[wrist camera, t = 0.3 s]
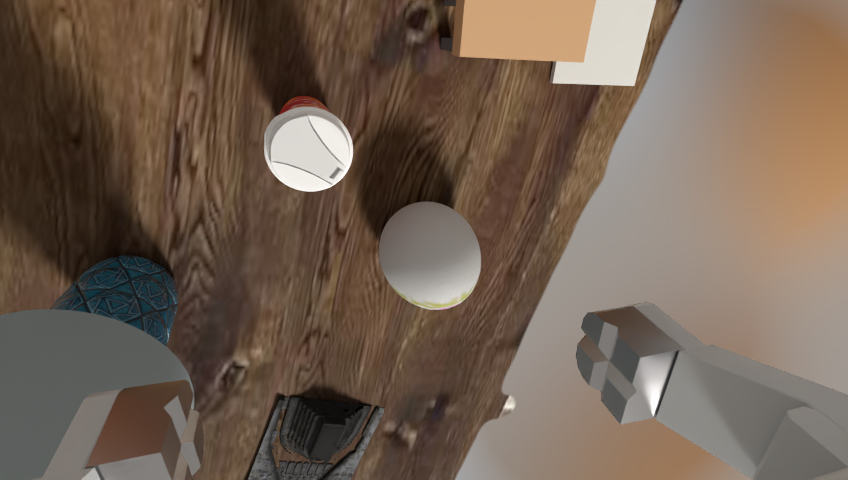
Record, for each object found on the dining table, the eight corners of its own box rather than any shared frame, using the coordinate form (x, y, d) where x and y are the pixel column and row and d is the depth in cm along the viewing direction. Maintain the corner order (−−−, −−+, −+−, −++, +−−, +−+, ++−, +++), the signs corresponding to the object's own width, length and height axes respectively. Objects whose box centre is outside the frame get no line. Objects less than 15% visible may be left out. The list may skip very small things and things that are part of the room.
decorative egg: (383, 282, 63) (407, 351, 50) (362, 204, 57) (384, 260, 44) (465, 258, 65) (508, 319, 52) (453, 180, 59) (499, 227, 46)
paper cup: (353, 116, 52) (372, 148, 40) (312, 166, 54) (318, 212, 41) (296, 69, 48) (298, 88, 36) (254, 124, 50) (242, 160, 38)
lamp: (171, 370, 61) (34, 784, 28) (5, 309, 52) (-479, 816, 19) (251, 265, 57) (201, 602, 25) (88, 180, 48) (-337, 536, 15)
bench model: (436, 50, 51) (459, 56, 44) (440, -10, 49) (465, -13, 42) (546, 56, 55) (583, 62, 48) (556, 0, 52) (596, -1, 45)
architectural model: (281, 382, 69) (235, 502, 80) (275, 414, 63) (226, 538, 75) (386, 403, 74) (329, 513, 85) (389, 434, 68) (327, 548, 80)
